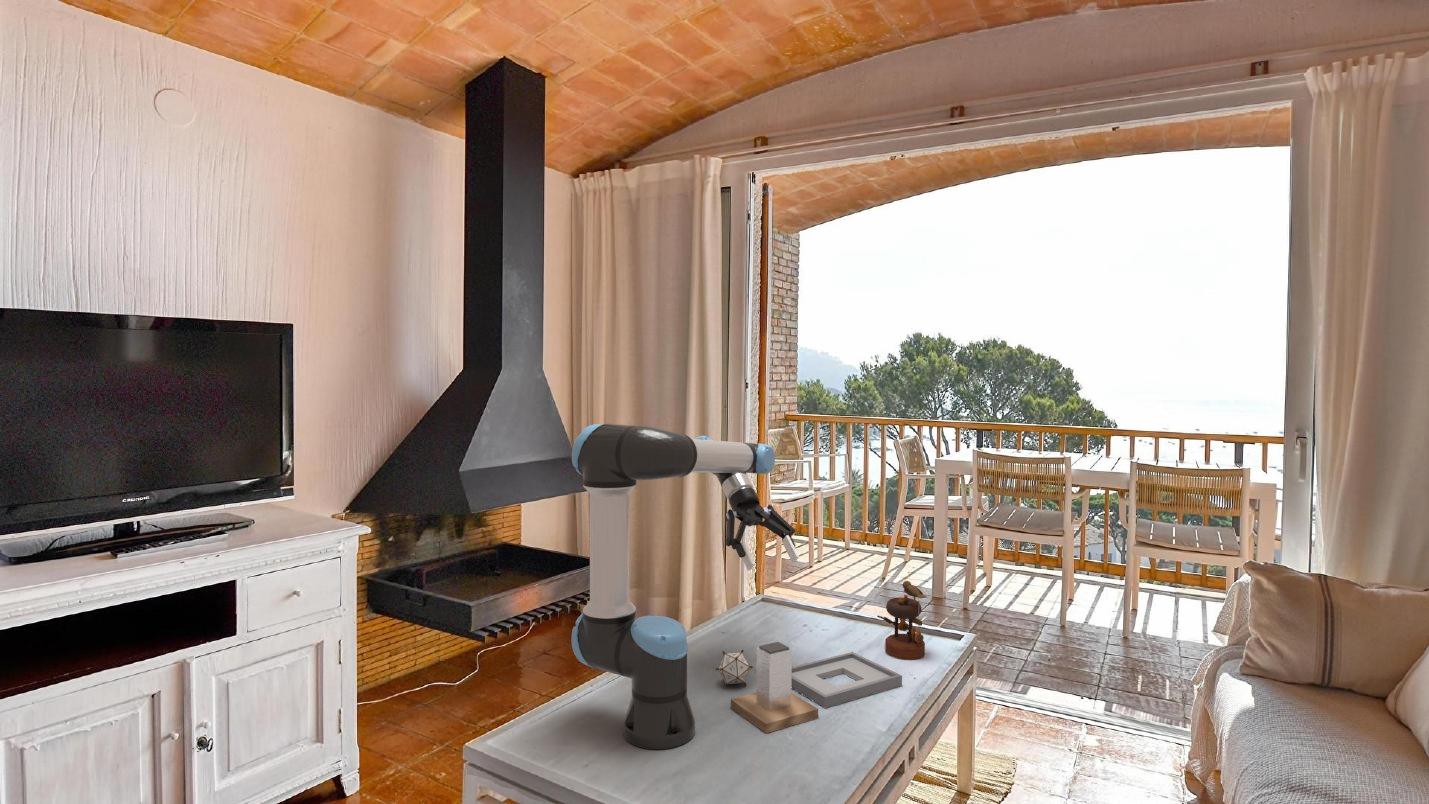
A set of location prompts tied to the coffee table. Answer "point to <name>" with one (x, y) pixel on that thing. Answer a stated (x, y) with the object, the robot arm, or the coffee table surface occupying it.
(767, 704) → the block
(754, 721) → the board
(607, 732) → the coffee table surface
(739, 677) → the game die
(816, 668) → the grey flat frame
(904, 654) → the music box
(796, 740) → the coffee table surface
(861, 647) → the coffee table surface
